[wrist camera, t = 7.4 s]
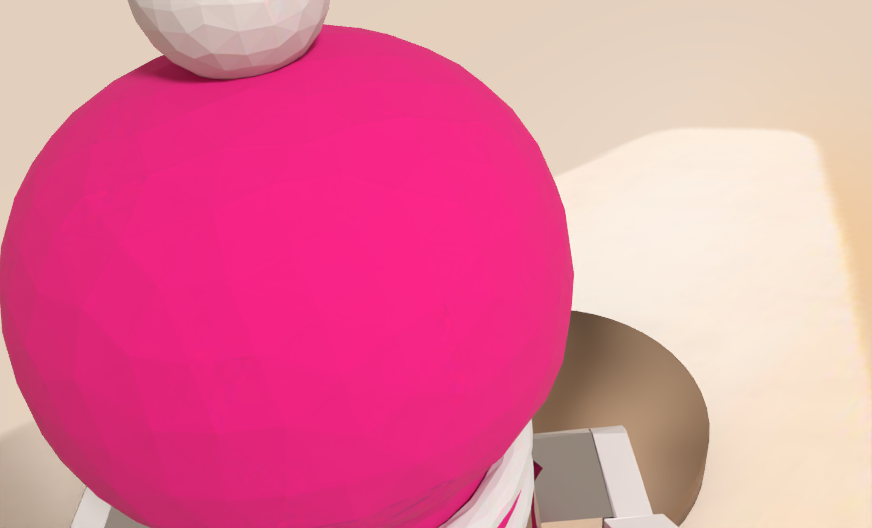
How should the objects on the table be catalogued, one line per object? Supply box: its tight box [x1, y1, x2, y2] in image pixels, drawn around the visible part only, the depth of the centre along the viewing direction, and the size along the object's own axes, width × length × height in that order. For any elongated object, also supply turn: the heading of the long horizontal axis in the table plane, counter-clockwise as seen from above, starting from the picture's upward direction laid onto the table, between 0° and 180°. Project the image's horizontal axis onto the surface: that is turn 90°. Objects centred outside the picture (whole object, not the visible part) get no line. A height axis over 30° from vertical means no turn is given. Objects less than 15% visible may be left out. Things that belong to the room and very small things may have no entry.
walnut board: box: [526, 311, 709, 528], centre depth 36 cm, size 14×14×2 cm
